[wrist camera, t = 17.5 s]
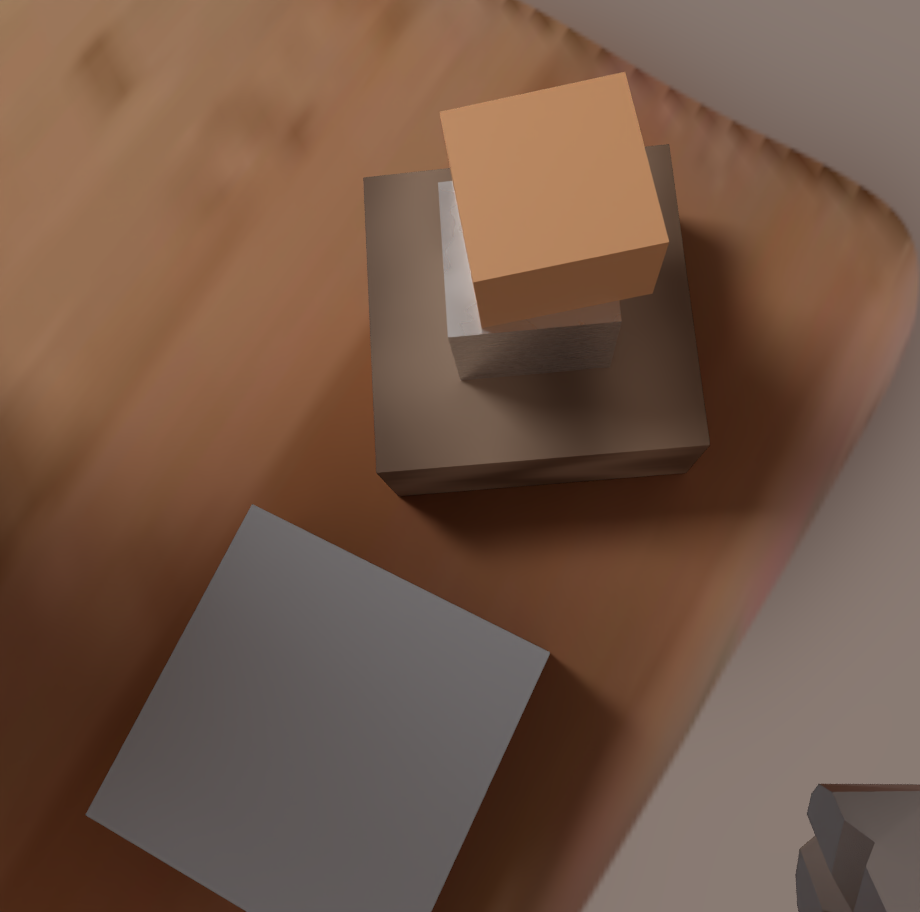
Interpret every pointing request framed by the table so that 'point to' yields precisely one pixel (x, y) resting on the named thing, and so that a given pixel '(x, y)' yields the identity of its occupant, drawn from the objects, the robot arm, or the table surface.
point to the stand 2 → (523, 396)
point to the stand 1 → (318, 732)
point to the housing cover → (555, 200)
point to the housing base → (516, 322)
